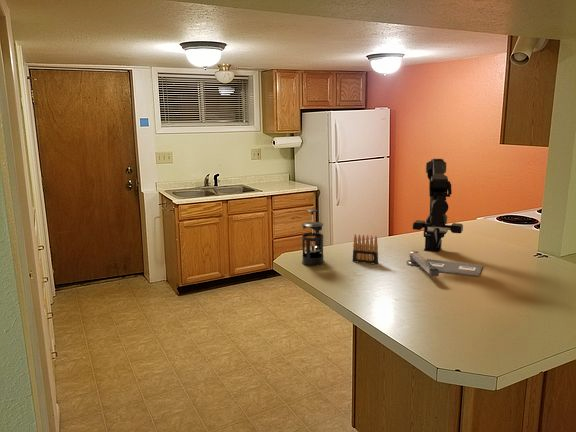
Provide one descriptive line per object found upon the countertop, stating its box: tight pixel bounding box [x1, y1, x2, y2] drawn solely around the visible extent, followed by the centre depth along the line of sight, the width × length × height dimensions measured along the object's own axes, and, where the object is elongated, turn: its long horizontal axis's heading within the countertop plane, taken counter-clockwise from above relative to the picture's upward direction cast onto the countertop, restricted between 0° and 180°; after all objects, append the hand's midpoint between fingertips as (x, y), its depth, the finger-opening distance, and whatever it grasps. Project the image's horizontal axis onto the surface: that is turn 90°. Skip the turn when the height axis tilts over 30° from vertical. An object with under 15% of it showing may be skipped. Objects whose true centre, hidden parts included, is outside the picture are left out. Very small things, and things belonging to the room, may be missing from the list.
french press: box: [301, 208, 325, 267], centre depth 198 cm, size 12×9×23 cm
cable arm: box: [409, 250, 440, 277], centre depth 184 cm, size 26×4×2 cm, turn 3°
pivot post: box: [405, 257, 420, 267], centre depth 195 cm, size 6×6×3 cm
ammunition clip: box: [352, 233, 379, 265], centre depth 198 cm, size 11×2×12 cm, turn 65°
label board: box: [419, 258, 483, 278], centre depth 188 cm, size 22×14×1 cm, turn 62°
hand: (436, 247), depth 190 cm, fingers closed
